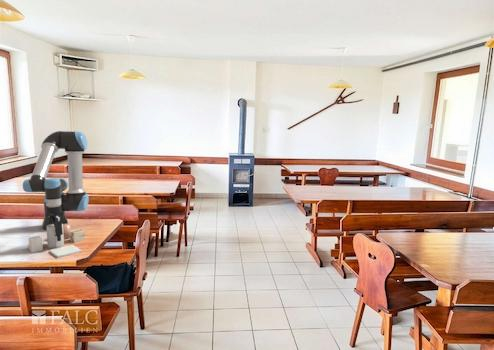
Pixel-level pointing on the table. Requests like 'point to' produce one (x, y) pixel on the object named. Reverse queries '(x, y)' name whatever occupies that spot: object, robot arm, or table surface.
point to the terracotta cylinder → (66, 230)
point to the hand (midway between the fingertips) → (55, 244)
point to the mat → (65, 251)
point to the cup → (53, 236)
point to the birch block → (77, 235)
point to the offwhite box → (35, 244)
